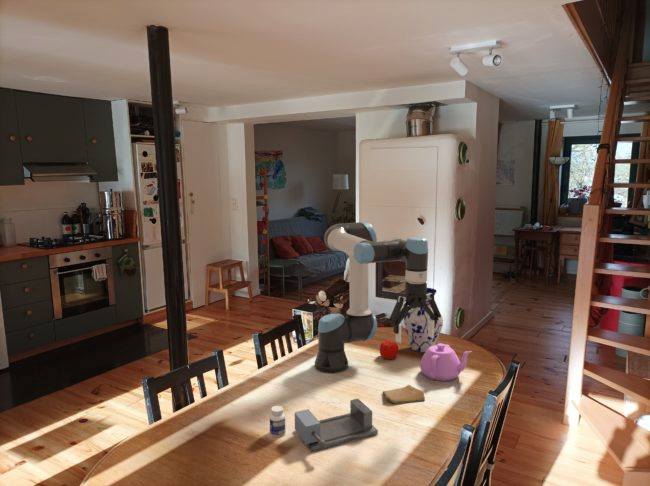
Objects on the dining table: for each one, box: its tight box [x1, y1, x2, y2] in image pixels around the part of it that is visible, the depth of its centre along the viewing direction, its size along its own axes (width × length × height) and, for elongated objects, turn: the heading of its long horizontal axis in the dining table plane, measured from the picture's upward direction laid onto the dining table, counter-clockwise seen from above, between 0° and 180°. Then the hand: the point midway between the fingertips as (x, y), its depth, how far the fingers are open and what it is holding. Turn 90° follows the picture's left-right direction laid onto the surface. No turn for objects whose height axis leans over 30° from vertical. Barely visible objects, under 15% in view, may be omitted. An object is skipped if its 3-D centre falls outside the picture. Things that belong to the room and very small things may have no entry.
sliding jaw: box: [294, 408, 325, 448], centre depth 150 cm, size 18×5×6 cm, turn 25°
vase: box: [403, 287, 444, 354], centre depth 231 cm, size 19×19×30 cm
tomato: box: [379, 340, 399, 360], centre depth 222 cm, size 9×9×8 cm
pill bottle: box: [269, 405, 287, 438], centre depth 158 cm, size 5×5×9 cm
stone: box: [382, 384, 426, 405], centre depth 184 cm, size 11×16×3 cm
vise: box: [295, 398, 379, 453], centre depth 158 cm, size 14×24×8 cm, turn 115°
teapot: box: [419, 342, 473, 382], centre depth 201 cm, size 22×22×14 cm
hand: (414, 339), depth 169 cm, fingers open, 13 cm apart
